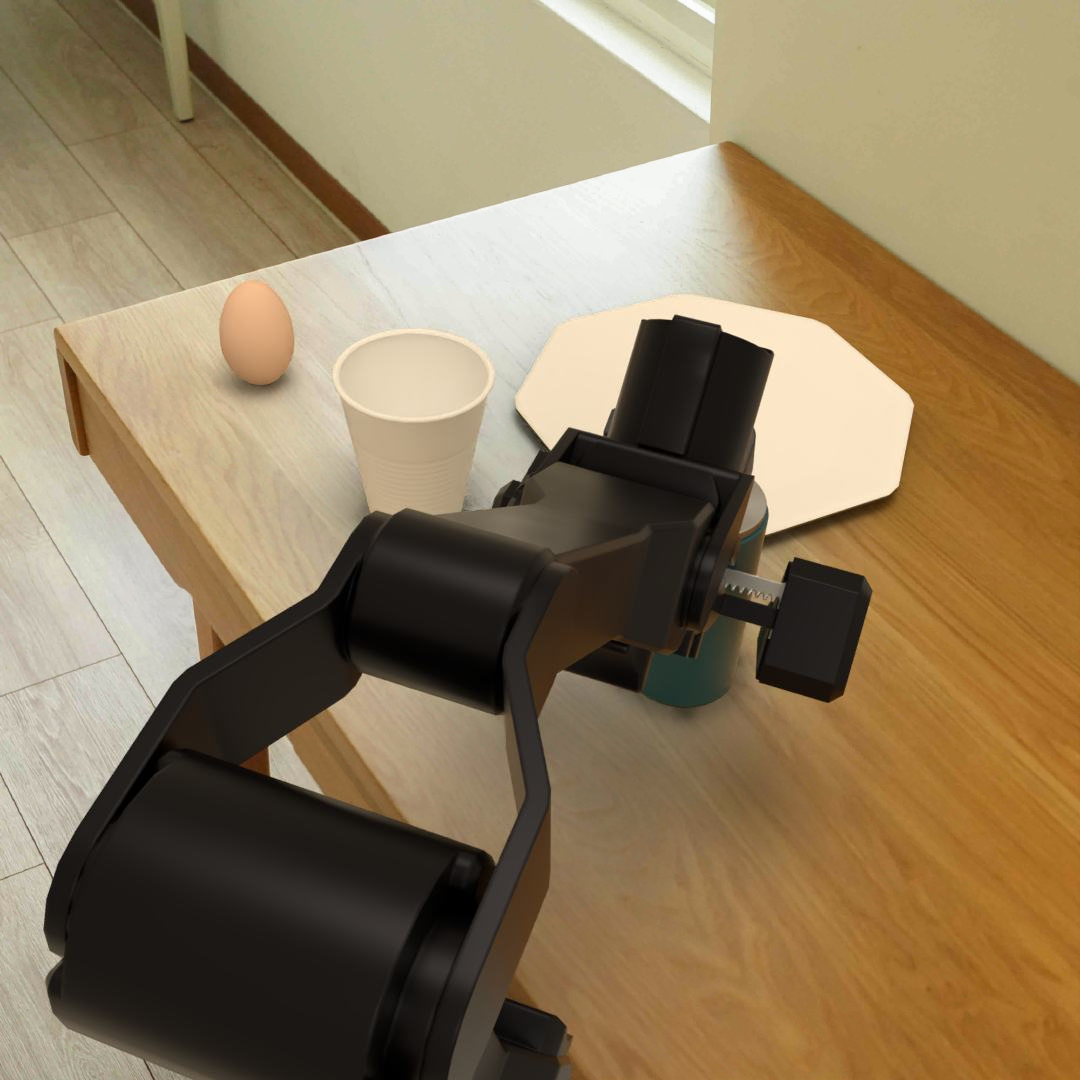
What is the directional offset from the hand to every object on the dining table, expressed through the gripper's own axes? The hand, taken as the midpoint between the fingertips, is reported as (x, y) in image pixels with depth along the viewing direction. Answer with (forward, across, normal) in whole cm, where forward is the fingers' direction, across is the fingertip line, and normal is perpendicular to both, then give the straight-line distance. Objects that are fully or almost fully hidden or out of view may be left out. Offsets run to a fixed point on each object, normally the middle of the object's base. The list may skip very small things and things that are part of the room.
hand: (685, 599), depth 74 cm
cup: (+12, +20, -1) cm, 23 cm away
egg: (+18, +36, -7) cm, 41 cm away
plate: (+24, +4, -14) cm, 29 cm away
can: (+7, 0, +4) cm, 8 cm away
